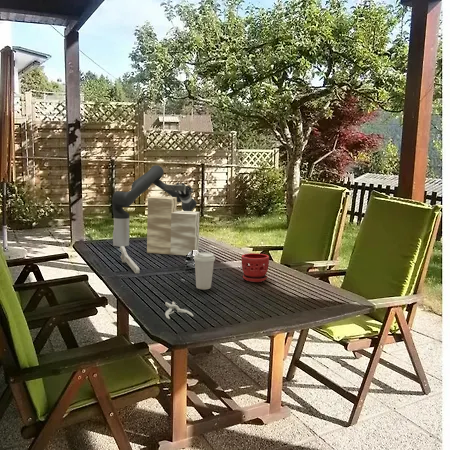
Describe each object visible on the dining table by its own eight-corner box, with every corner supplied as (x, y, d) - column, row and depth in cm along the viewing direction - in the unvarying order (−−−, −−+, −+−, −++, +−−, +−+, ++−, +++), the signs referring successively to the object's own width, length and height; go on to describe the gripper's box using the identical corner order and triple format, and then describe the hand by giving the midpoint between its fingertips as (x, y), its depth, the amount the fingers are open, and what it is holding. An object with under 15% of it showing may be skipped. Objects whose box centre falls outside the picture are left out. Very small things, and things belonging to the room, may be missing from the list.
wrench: (135, 279, 226) (118, 259, 251) (139, 279, 227) (122, 258, 252) (136, 264, 224) (119, 244, 249) (140, 263, 224) (122, 244, 250)
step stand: (153, 248, 283) (153, 195, 278) (198, 251, 279) (200, 198, 274) (146, 252, 271) (147, 197, 266) (194, 256, 267) (195, 200, 262)
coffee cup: (190, 285, 210) (191, 252, 208) (210, 283, 214) (211, 251, 211) (196, 291, 202) (197, 257, 199) (217, 289, 205) (218, 256, 203)
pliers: (168, 316, 167) (157, 302, 181) (167, 320, 167) (157, 306, 181) (194, 313, 171) (181, 300, 185) (193, 317, 171) (181, 304, 185)
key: (172, 187, 295) (172, 182, 295) (191, 188, 294) (191, 183, 293) (164, 189, 276) (164, 184, 275) (184, 191, 274) (184, 185, 274)
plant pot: (270, 277, 228) (271, 253, 226) (264, 284, 215) (266, 259, 213) (244, 274, 231) (245, 251, 229) (237, 281, 219) (238, 256, 217)
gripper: (175, 189, 307) (170, 178, 291) (196, 190, 305) (191, 179, 289) (173, 200, 304) (168, 188, 288) (194, 201, 303) (190, 190, 287)
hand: (180, 184), depth 289 cm, fingers closed on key, 2 cm apart
